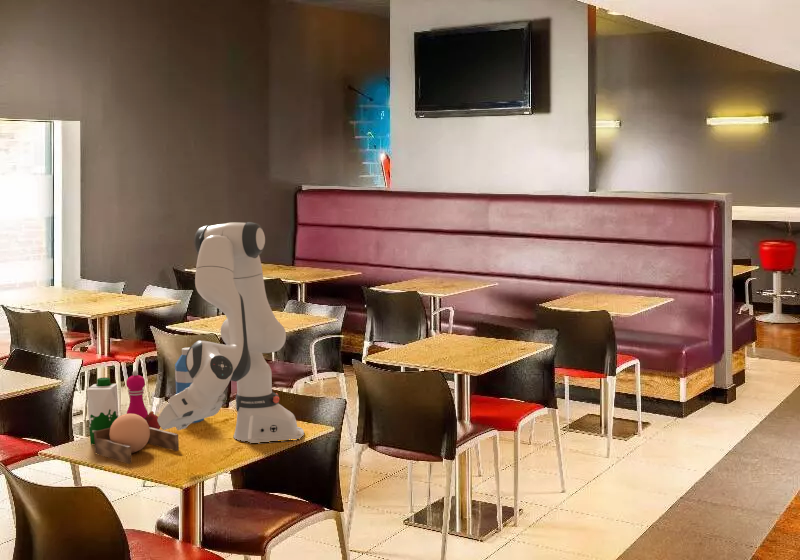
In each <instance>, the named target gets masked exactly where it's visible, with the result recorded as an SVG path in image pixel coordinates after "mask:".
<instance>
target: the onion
mask: <svg viewBox="0 0 800 560" xmlns="http://www.w3.org/2000/svg"><path fill="white" fill-rule="evenodd" d="M158 417H159V416H157V414H155V413H154V411H152V410H151V411H149V413H148V415H147V416H146V417H145V418H144V419H145V420H147V423H148V425H149V427H152V428H155V429H159V430H161V427H160V425H159V423H158V421H157V419H158Z"/></svg>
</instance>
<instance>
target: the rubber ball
mask: <svg viewBox="0 0 800 560" xmlns="http://www.w3.org/2000/svg"><path fill="white" fill-rule="evenodd" d="M109 436H110V440H111V441H114V442H117V443H121V444H124V445H128V446H131V454H133V453H137V452H139V451H141V450H142V449H143V448H145V446H146V445H148V443H147V442H148V440H149V436H150V429H149V425H148V423H147V422H146V420H145V419H144V418H142V417H141V416H139V415H137V414H127V413H125V414H121V415H120V416H119V417H118V418H117V419H116V420H115V421H114V422H113V423H112V425H111V428H110V433H109Z"/></svg>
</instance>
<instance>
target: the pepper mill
mask: <svg viewBox="0 0 800 560" xmlns="http://www.w3.org/2000/svg"><path fill="white" fill-rule="evenodd" d="M125 385H126V387H127V389H128V391H127V392H128V396H129V404H128V405H129V406H128V407H127V411H126V414H137V415H139V416H141V417H142V418H145V417H146V416H147V415H148V414H149V413H148V409H147V408H146V405H145V402H144V398H143V397H144V394H145V392H144V391H145V390H144V387H145V385H146V380H145V378H144V377H143V376H141V375H139V371H137V370H133V371H132V375H130V376H129V377H128V378H127V379H126V383H125Z"/></svg>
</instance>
